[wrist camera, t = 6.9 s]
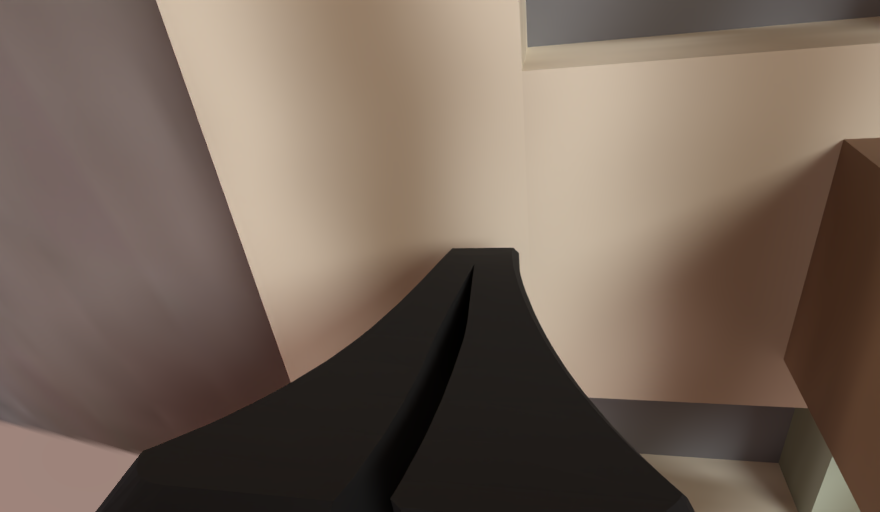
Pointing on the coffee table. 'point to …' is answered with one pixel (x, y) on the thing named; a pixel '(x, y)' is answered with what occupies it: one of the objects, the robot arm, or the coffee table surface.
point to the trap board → (557, 192)
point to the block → (845, 323)
